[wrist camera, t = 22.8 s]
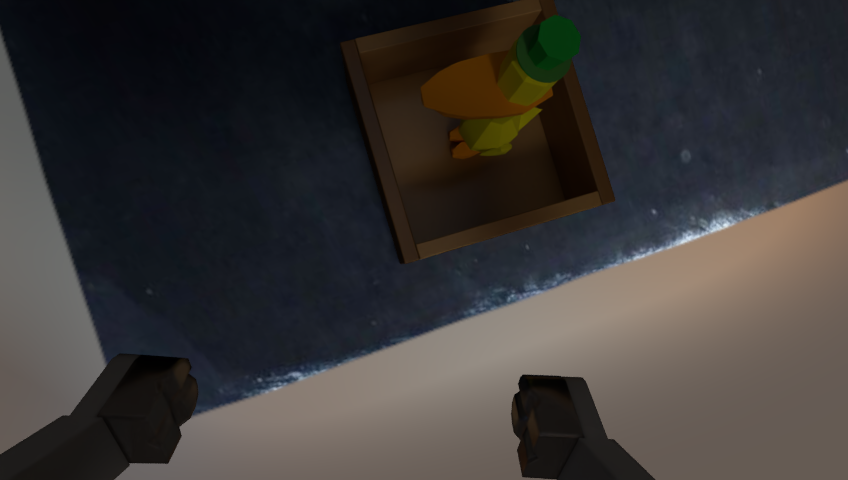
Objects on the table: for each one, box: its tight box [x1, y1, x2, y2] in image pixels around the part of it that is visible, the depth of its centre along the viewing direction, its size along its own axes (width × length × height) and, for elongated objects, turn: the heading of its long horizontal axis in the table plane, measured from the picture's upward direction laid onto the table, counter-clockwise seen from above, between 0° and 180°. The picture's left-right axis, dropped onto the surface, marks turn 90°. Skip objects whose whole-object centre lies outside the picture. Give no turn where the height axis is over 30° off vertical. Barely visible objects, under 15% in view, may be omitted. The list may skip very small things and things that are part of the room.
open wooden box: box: [340, 0, 615, 264], centre depth 24 cm, size 12×12×5 cm
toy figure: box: [421, 15, 581, 159], centre depth 20 cm, size 7×4×12 cm, turn 101°
